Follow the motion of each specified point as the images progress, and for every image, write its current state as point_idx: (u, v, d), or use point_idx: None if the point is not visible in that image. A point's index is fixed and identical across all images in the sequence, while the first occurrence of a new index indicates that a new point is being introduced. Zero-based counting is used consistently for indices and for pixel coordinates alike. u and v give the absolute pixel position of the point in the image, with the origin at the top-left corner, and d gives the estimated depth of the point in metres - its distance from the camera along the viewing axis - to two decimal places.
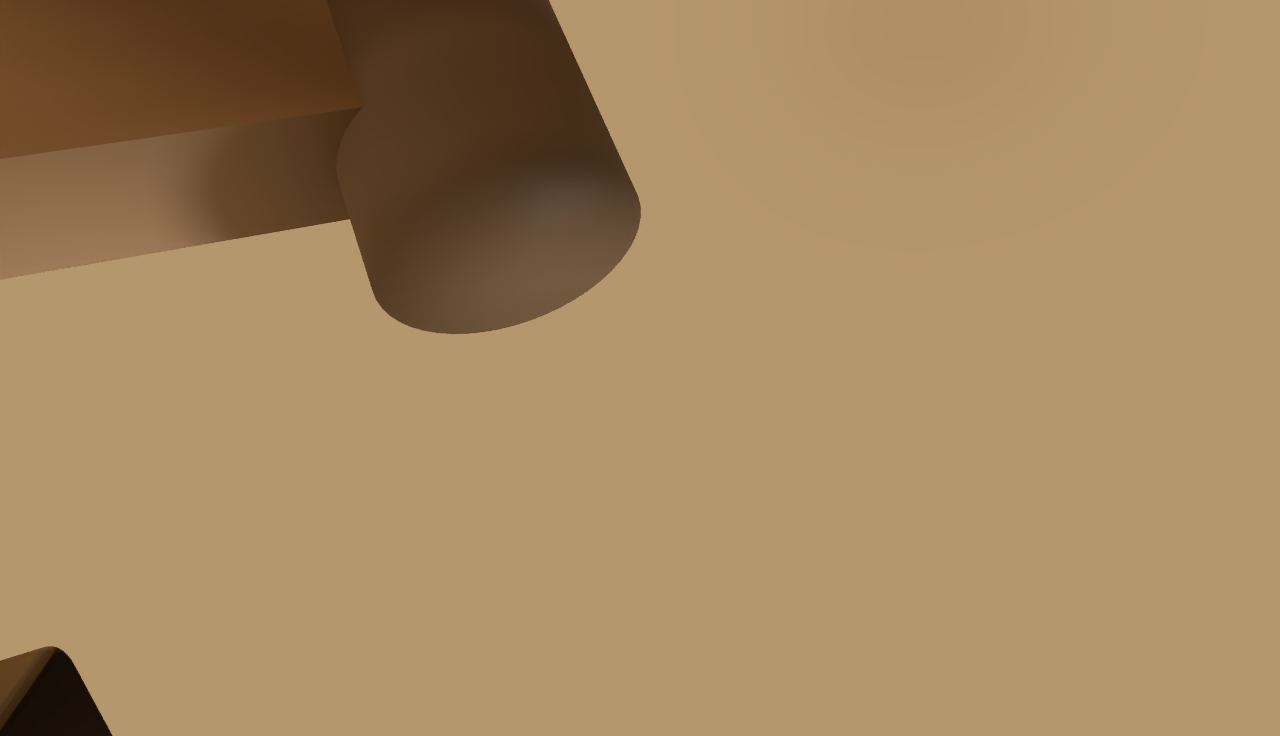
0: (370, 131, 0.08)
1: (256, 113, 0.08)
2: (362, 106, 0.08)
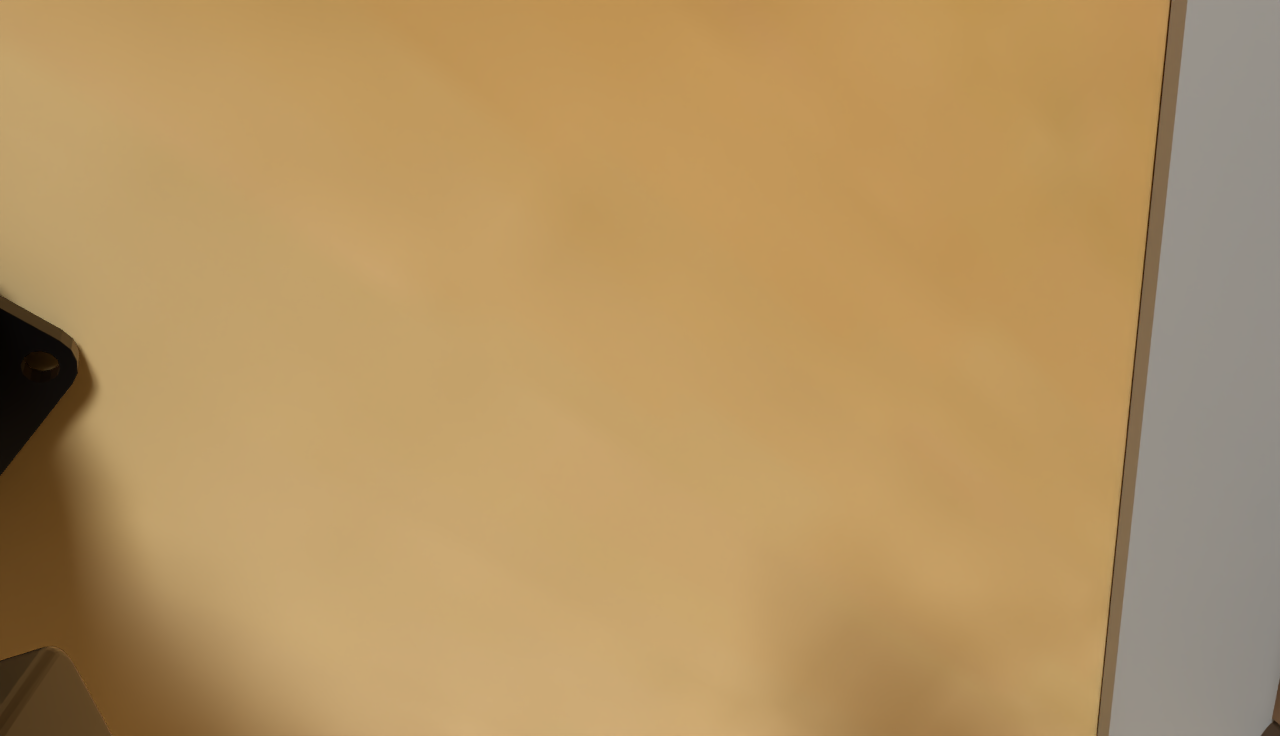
0: None
1: None
2: None
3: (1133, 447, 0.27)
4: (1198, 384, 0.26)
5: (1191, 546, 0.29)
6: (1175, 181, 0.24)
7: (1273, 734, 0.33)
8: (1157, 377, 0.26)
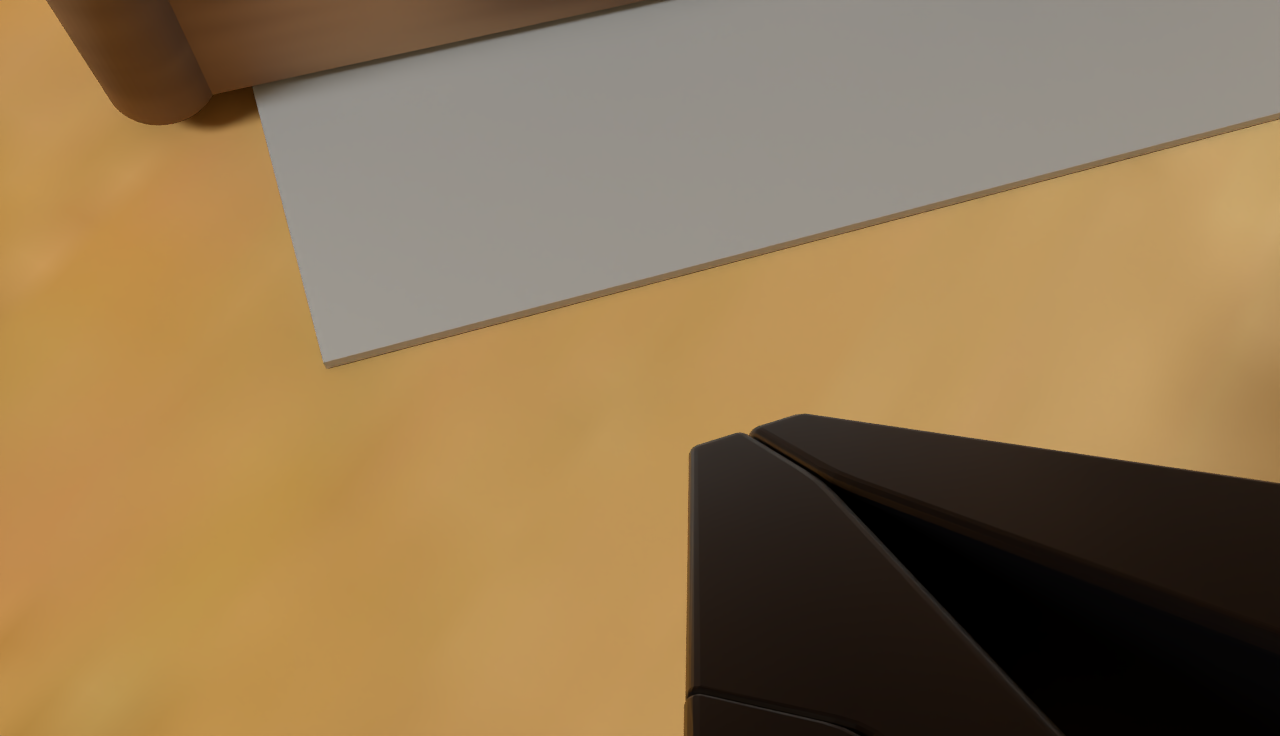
0: None
1: None
2: None
3: (931, 206, 0.24)
4: (849, 154, 0.24)
5: (1049, 83, 0.25)
6: (626, 273, 0.23)
7: None
8: (845, 211, 0.23)
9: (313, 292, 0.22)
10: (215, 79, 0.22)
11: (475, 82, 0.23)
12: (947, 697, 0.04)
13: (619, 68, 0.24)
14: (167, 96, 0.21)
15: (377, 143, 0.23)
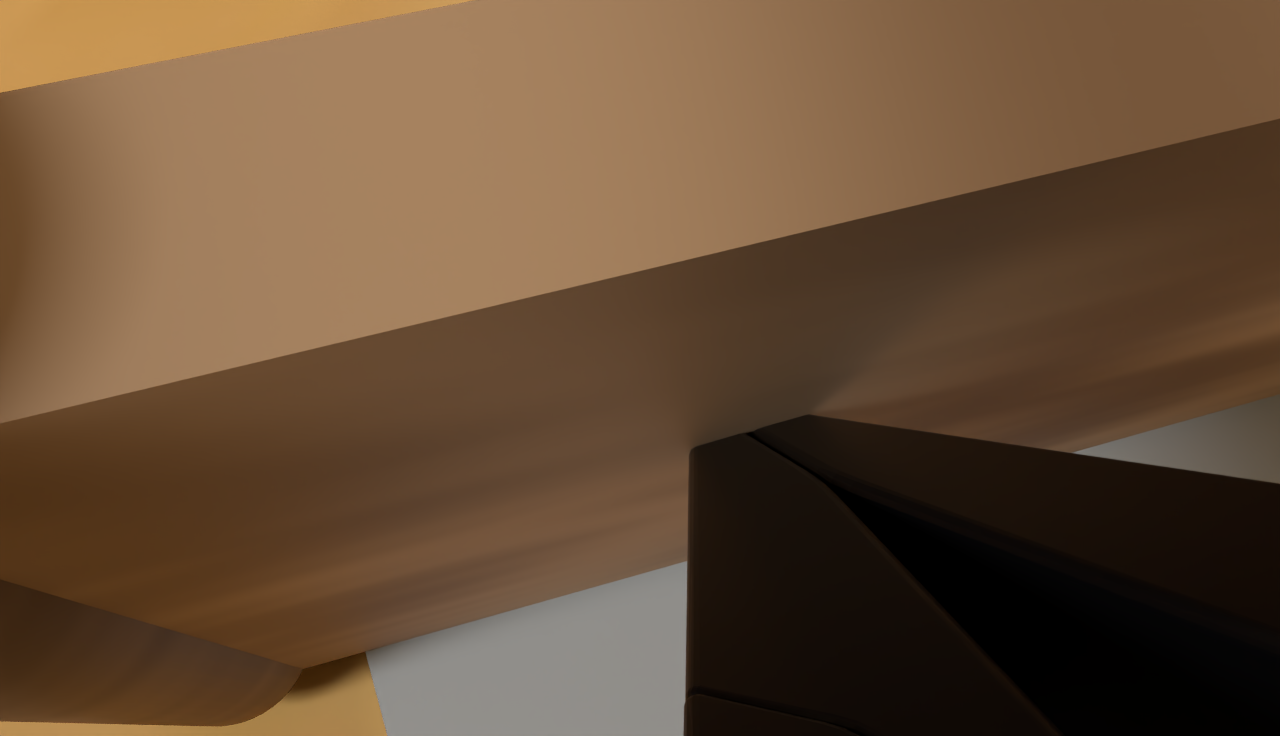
0: None
1: None
2: None
3: None
4: None
5: None
6: None
7: None
8: None
9: None
10: (309, 663, 0.14)
11: None
12: (946, 696, 0.04)
13: None
14: (236, 716, 0.13)
15: None
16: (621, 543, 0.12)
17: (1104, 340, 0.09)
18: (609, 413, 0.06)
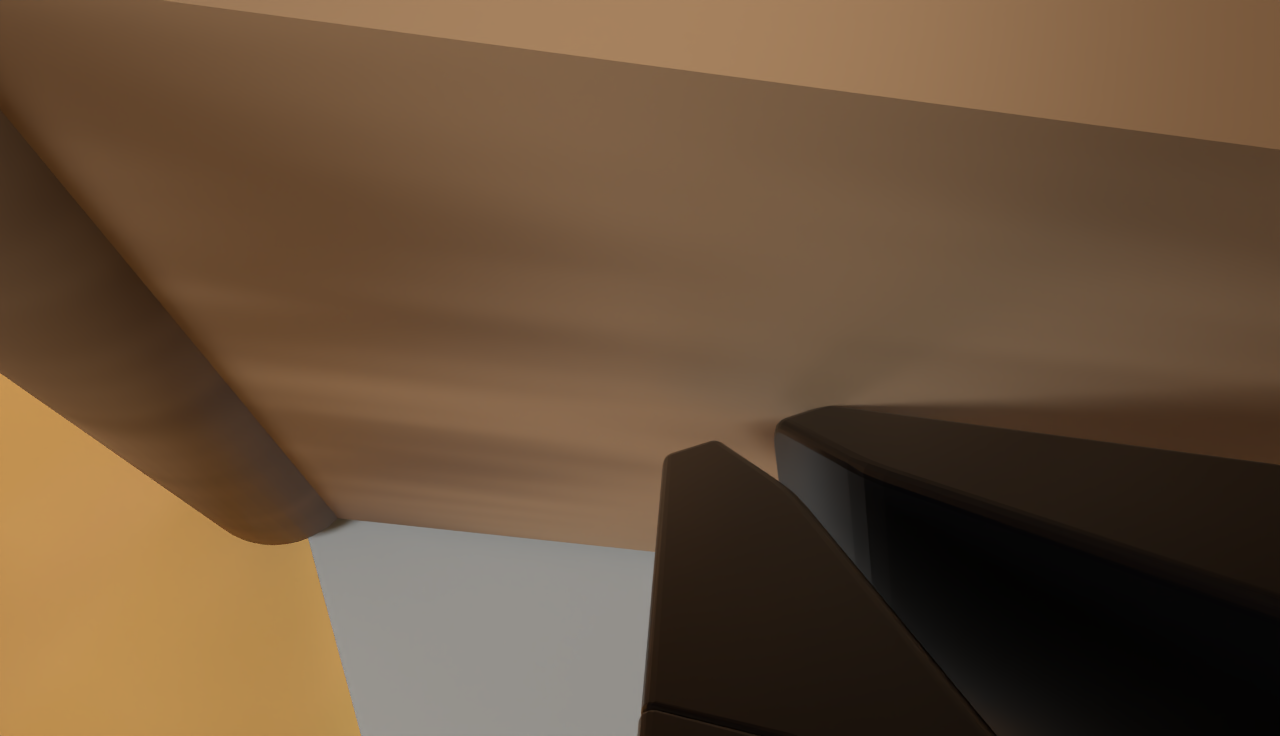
0: None
1: (103, 2, 0.04)
2: None
3: None
4: None
5: None
6: None
7: None
8: None
9: None
10: (346, 512, 0.14)
11: None
12: (897, 715, 0.04)
13: None
14: (262, 532, 0.13)
15: None
16: None
17: (1227, 443, 0.08)
18: (708, 289, 0.06)
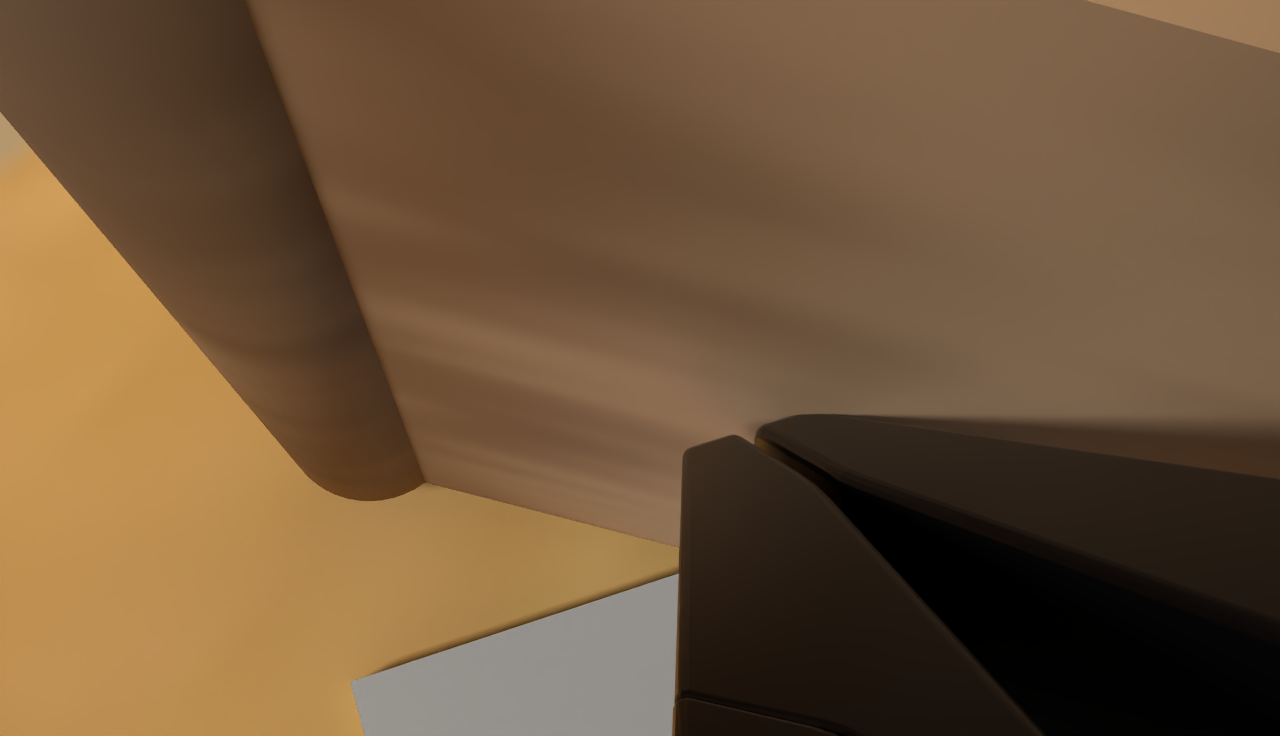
0: None
1: None
2: None
3: None
4: None
5: None
6: None
7: None
8: None
9: None
10: (435, 477, 0.13)
11: None
12: (934, 701, 0.04)
13: None
14: (349, 485, 0.13)
15: None
16: None
17: None
18: (952, 279, 0.05)
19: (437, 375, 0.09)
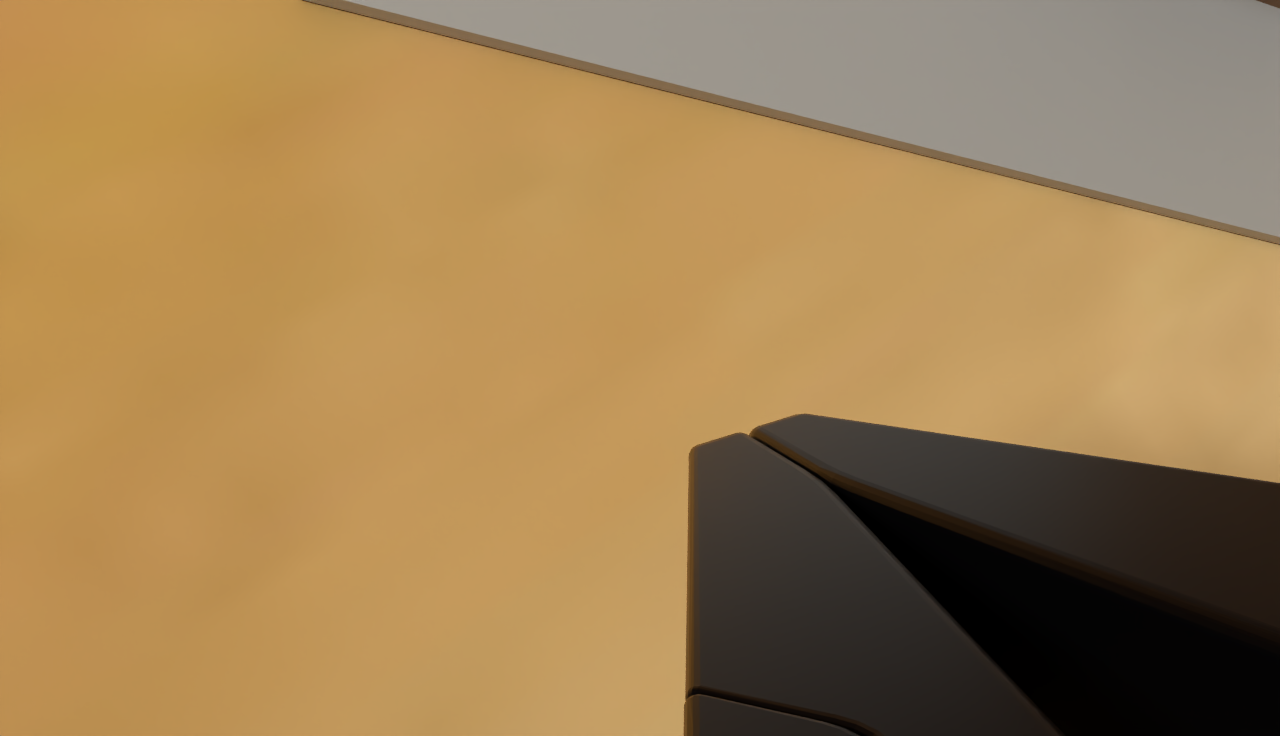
0: None
1: None
2: None
3: (917, 149, 0.24)
4: (871, 63, 0.24)
5: (1060, 96, 0.25)
6: (629, 62, 0.22)
7: None
8: (845, 112, 0.23)
9: None
10: None
11: None
12: (947, 697, 0.04)
13: None
14: None
15: None
16: None
17: None
18: None
19: None
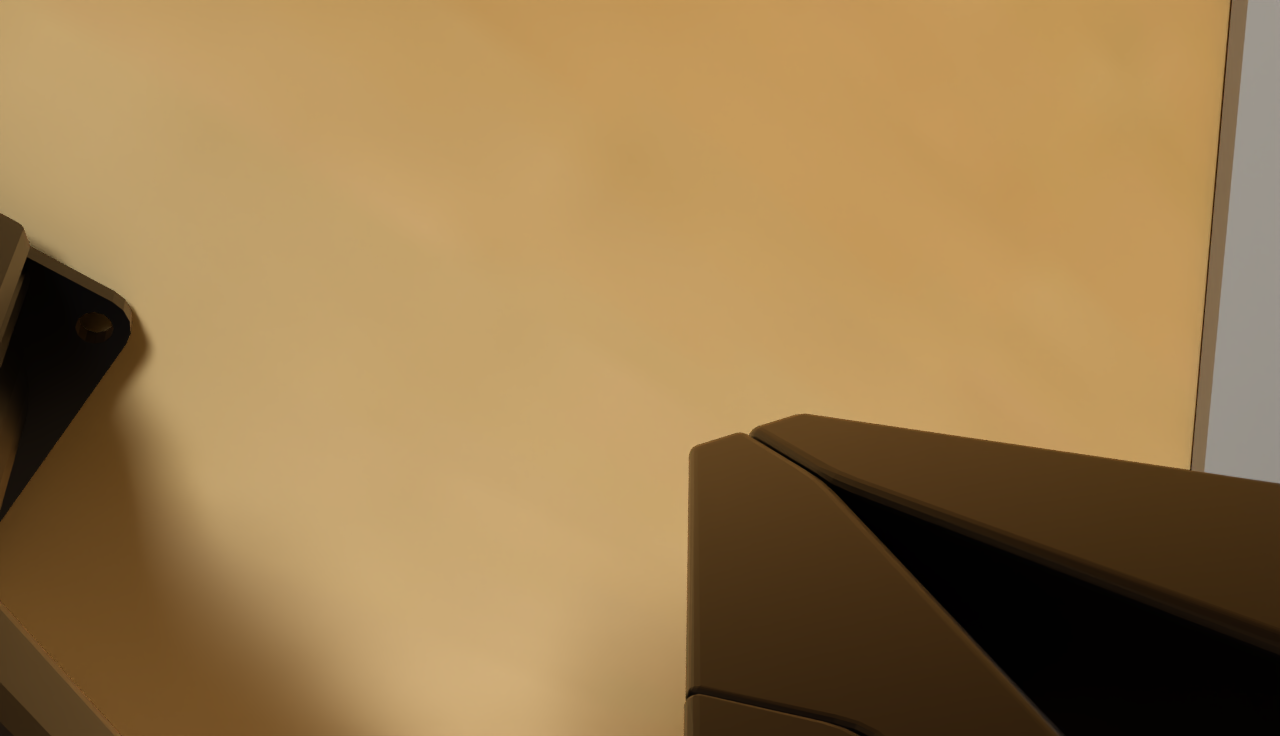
0: None
1: None
2: None
3: (1205, 389, 0.26)
4: (1274, 321, 0.25)
5: None
6: (1245, 109, 0.23)
7: None
8: (1229, 315, 0.25)
9: None
10: None
11: None
12: (948, 697, 0.04)
13: None
14: None
15: None
16: None
17: None
18: None
19: None
